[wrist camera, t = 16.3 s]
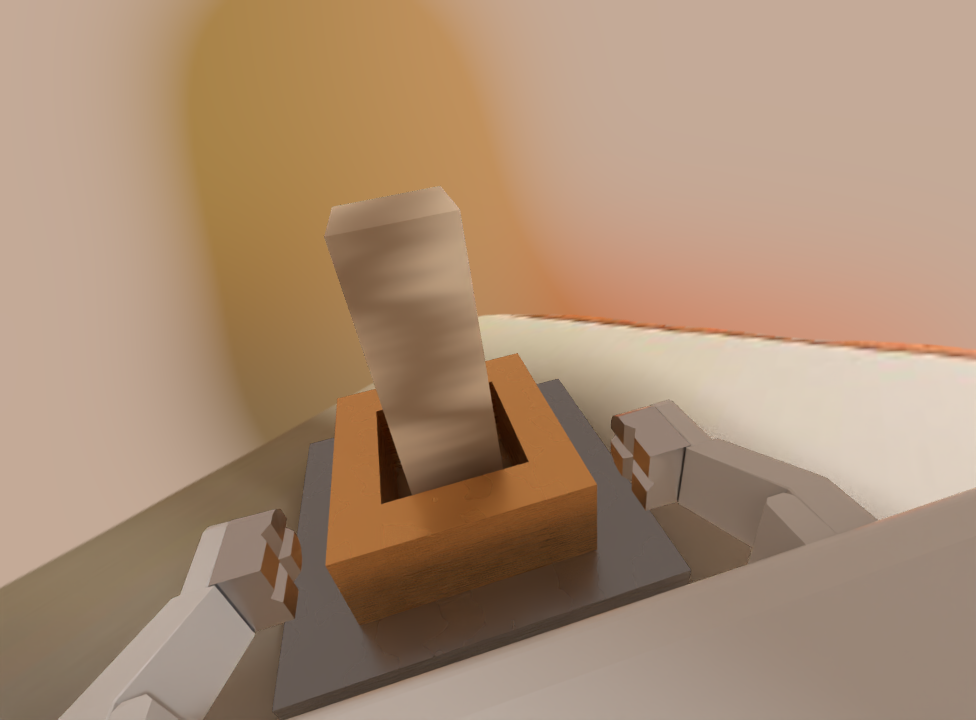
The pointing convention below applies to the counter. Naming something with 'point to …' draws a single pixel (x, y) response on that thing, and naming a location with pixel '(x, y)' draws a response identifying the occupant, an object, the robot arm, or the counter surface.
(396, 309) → the wedge pin
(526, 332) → the counter surface
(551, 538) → the socket base
